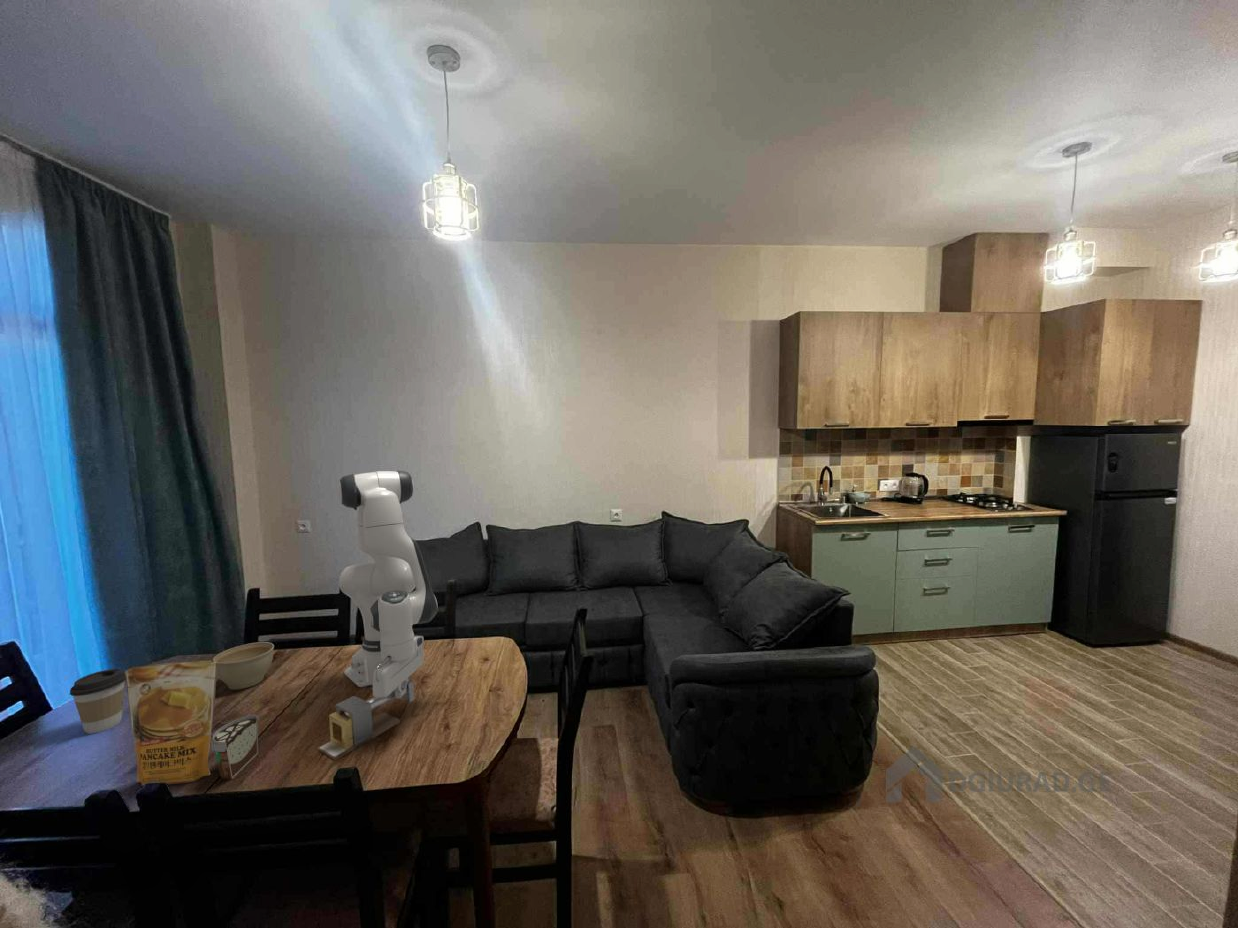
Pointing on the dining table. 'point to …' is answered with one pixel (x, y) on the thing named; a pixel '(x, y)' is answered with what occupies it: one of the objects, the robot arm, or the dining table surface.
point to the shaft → (391, 697)
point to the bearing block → (358, 718)
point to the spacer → (335, 731)
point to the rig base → (378, 726)
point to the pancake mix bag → (172, 719)
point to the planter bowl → (244, 664)
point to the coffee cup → (99, 699)
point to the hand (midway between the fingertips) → (401, 695)
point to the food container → (236, 745)
